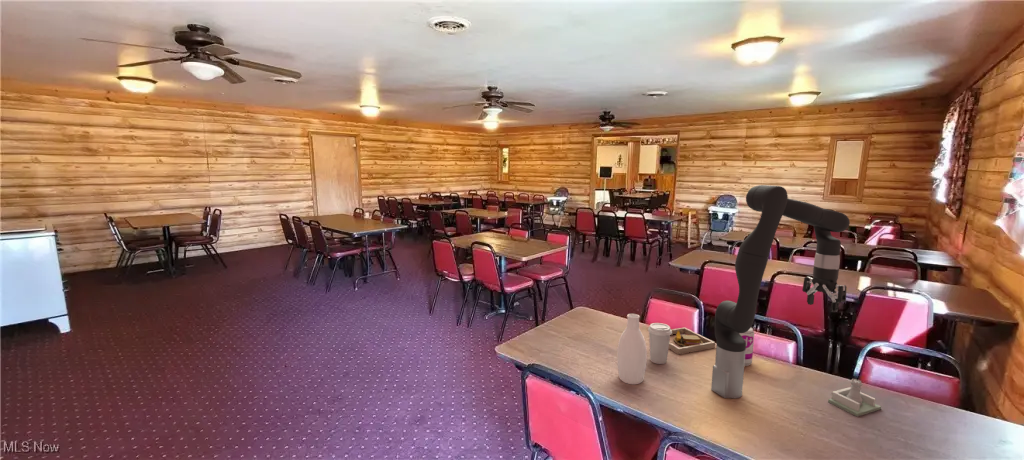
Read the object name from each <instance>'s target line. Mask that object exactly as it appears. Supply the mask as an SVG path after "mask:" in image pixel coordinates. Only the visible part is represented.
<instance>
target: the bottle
mask: <svg viewBox="0 0 1024 460" xmlns="http://www.w3.org/2000/svg"><path fill="white" fill-rule="evenodd" d="M626 317H627V318H626V319H627V321H626V327H625V328H624V330H623V332H622V333H621V334H620V337H619V340H618V343H617V348H616V361H617V363H616V365H617V373H618V378H619V379H620V381H621V382H623V383H625V384H629V385H639V384H641V383H642V382H643V381H644V380H645V379H644V378H645V374H646V369H647V360H648V349H647V342H646V340H645V337H644V334H643V332H642V330H641V329H640V318H641V317H640V315H639V314H636V313H628V314H627V316H626Z"/></svg>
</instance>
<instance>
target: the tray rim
mask: <svg viewBox="0 0 1024 460" xmlns="http://www.w3.org/2000/svg"><path fill="white" fill-rule="evenodd" d="M671 331H672V334H671V336H674V335H673V334H677V331H679V332H680V335H681V334H686V335H693V336H698V337H699V338H700V339H701V340H702V342H703V344H697V345H692V346H687V347H684V346H681V347H679V346H677V345H675V344H673V343H672V342H669V348H668V350H670V349H671V350H670V351H672V352H674V353H675V352H676V354H677V355H683V354H689V352H690V353H695V352H700V351H704V350H710V349H714V348H715V349H716V341H714V340H712V339H709V338H707V337H706V336H703V335H701V334H699V333H697V332H695V331H694V330H691V329H689V328H687V327H684V326H683V327H678V328H672V329H671ZM711 342H712V343H711Z"/></svg>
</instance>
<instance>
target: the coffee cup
mask: <svg viewBox="0 0 1024 460" xmlns="http://www.w3.org/2000/svg"><path fill="white" fill-rule="evenodd" d="M671 330H672V329H671V326H670V325H668V324H666V323H661V322H653V323H650V325H649V326H648V328H647V331H648V337H649V360H650V361H651V362H652V363H654V364H658V365H665V364H666V363H667V362H668V354H669V342H670V340H671V339H670V338H671V336H672V335H671V334H672V331H671ZM670 335H671V336H670ZM670 343H671V342H670Z"/></svg>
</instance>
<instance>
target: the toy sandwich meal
mask: <svg viewBox="0 0 1024 460" xmlns="http://www.w3.org/2000/svg"><path fill="white" fill-rule="evenodd" d="M673 341H674V342H675V343H676V344H677V345H679V346H681V345H682V346H681V347H687V346H692V345H697V344H703V342H702V340H701V339H700V338H699V337H698V336H693V335H687V334H685V333H683V334H680V332H679V331H677V334H676V335H675V336H674V338H673Z"/></svg>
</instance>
